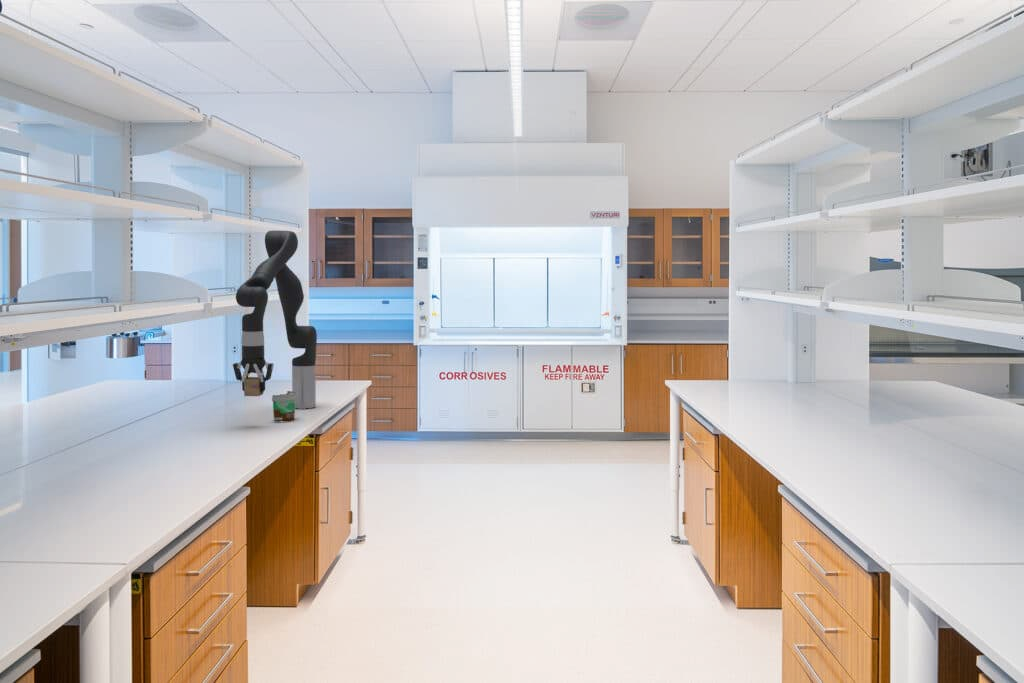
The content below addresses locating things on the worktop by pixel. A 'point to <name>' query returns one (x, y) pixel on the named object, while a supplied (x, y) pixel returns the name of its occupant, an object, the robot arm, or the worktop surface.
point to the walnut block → (252, 386)
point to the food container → (284, 406)
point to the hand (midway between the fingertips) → (253, 392)
